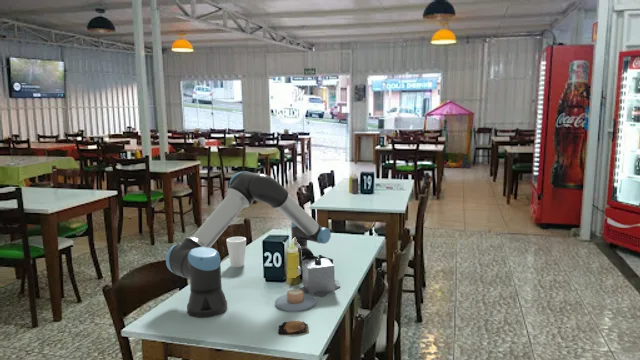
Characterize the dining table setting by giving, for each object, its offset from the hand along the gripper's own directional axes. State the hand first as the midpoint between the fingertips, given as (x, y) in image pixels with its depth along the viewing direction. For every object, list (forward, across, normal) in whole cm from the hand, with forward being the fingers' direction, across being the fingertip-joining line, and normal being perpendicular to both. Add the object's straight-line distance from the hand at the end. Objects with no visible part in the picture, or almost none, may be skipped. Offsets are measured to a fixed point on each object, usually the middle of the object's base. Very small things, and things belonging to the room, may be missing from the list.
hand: (315, 269), depth 219 cm
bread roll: (+40, +19, -7) cm, 45 cm away
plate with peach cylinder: (+18, +13, -6) cm, 23 cm away
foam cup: (-37, +30, -6) cm, 48 cm away
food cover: (+6, 0, -6) cm, 9 cm away
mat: (+6, 0, -6) cm, 9 cm away
